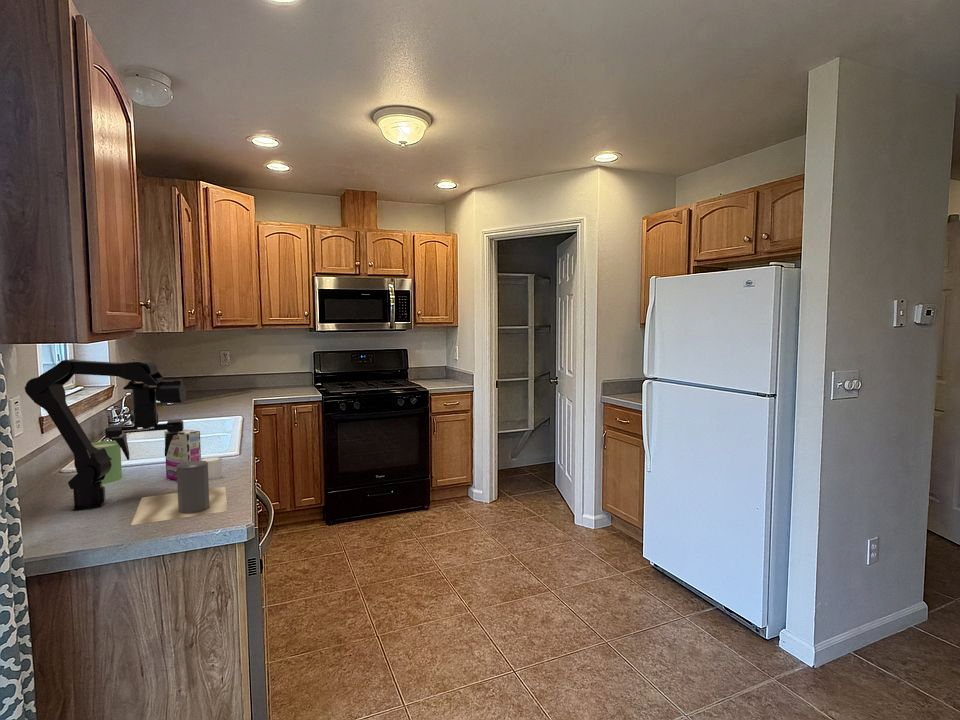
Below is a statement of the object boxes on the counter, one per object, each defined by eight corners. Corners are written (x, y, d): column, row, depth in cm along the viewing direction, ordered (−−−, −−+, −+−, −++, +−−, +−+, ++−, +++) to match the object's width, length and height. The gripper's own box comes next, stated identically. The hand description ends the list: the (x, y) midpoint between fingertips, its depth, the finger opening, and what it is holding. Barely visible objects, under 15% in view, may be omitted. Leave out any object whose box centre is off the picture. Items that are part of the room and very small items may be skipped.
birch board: (130, 529, 133) (130, 525, 133) (142, 500, 154) (141, 497, 154) (227, 514, 143) (227, 510, 143) (225, 489, 164) (225, 486, 164)
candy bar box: (202, 479, 176) (201, 430, 175) (189, 483, 171) (187, 433, 170) (179, 475, 180) (177, 428, 179) (165, 479, 176) (163, 430, 175)
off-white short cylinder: (213, 483, 171) (212, 462, 170) (194, 482, 172) (193, 461, 172) (227, 477, 178) (226, 457, 177) (209, 476, 179) (208, 456, 179)
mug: (109, 474, 182) (107, 439, 181) (128, 477, 178) (126, 442, 177) (68, 484, 171) (66, 447, 170) (87, 488, 166) (85, 450, 166)
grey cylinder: (178, 515, 140) (176, 469, 139) (179, 506, 146) (177, 462, 145) (209, 510, 143) (207, 465, 142) (209, 502, 150) (207, 459, 149)
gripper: (183, 398, 163) (185, 448, 164) (110, 402, 155) (113, 455, 156) (181, 403, 153) (183, 456, 154) (103, 408, 145) (106, 464, 146)
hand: (147, 457), depth 153 cm, fingers open, 9 cm apart
